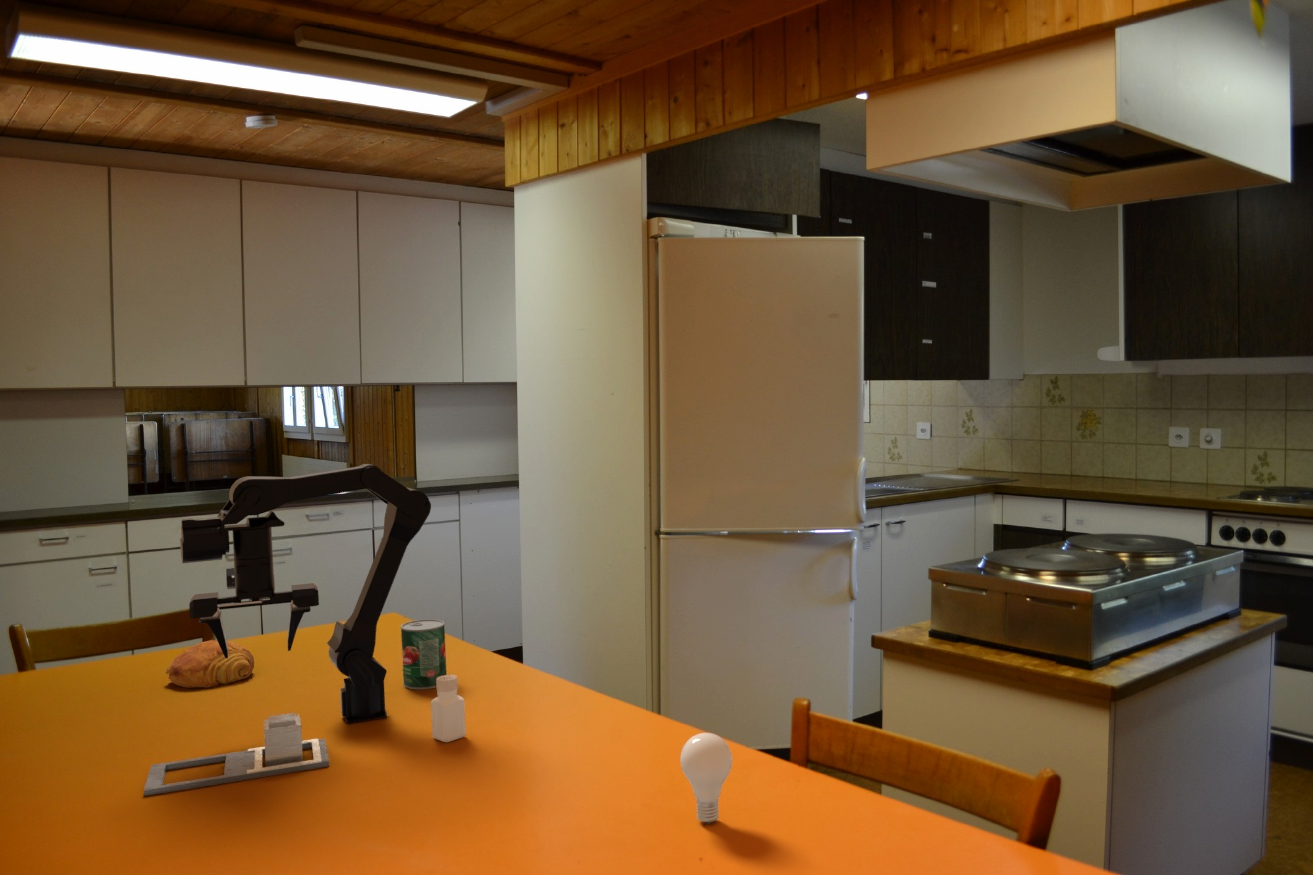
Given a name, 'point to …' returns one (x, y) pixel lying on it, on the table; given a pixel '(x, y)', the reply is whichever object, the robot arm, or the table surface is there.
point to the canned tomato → (423, 653)
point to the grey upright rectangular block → (283, 739)
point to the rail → (234, 768)
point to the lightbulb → (706, 771)
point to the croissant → (210, 665)
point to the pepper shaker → (448, 710)
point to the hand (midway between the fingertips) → (258, 653)
